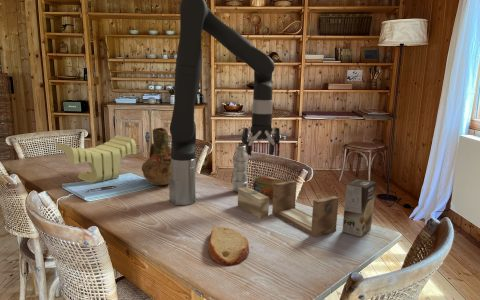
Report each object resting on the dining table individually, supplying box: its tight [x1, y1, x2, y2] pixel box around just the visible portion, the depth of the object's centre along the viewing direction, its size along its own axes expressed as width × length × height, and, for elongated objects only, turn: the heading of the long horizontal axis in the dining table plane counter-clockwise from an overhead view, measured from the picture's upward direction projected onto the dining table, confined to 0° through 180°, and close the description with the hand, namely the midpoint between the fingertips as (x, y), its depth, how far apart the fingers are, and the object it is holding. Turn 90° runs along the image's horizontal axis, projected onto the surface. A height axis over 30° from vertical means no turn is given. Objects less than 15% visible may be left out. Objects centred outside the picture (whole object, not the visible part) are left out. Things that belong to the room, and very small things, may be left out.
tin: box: [253, 175, 285, 200], centre depth 148 cm, size 15×3×8 cm, turn 56°
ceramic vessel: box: [141, 127, 171, 186], centre depth 160 cm, size 17×26×25 cm, turn 32°
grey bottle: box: [231, 144, 249, 193], centre depth 153 cm, size 6×7×20 cm
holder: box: [271, 180, 340, 237], centre depth 123 cm, size 9×23×11 cm, turn 33°
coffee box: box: [342, 178, 377, 238], centre depth 117 cm, size 9×6×16 cm
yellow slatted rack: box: [55, 134, 137, 184], centre depth 168 cm, size 30×16×18 cm, turn 140°
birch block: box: [237, 186, 270, 219], centre depth 133 cm, size 4×14×7 cm, turn 32°
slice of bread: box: [207, 226, 250, 267], centre depth 104 cm, size 18×18×4 cm
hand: (260, 154), depth 138 cm, fingers open, 8 cm apart
